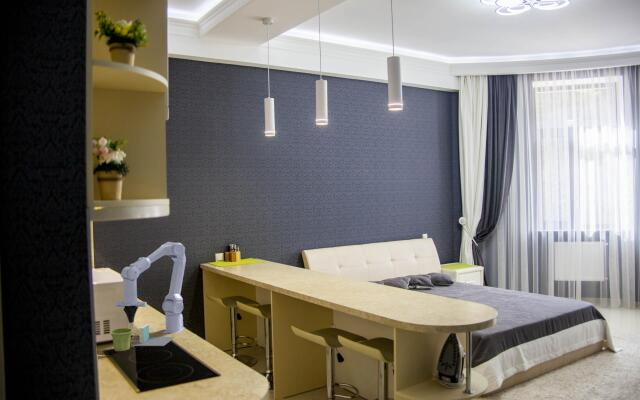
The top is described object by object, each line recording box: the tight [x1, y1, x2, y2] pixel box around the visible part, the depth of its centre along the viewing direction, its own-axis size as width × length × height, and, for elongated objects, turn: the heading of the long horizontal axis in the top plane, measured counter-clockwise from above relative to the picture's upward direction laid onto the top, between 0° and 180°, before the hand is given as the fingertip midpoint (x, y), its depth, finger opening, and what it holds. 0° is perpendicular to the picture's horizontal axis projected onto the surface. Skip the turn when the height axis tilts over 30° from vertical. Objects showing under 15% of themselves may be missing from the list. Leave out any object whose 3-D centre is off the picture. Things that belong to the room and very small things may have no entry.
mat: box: [130, 336, 176, 347], centre depth 250 cm, size 14×16×1 cm
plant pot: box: [109, 327, 134, 352], centre depth 238 cm, size 9×9×9 cm
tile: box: [138, 323, 150, 343], centre depth 250 cm, size 7×2×7 cm, turn 175°
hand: (131, 322), depth 250 cm, fingers closed
